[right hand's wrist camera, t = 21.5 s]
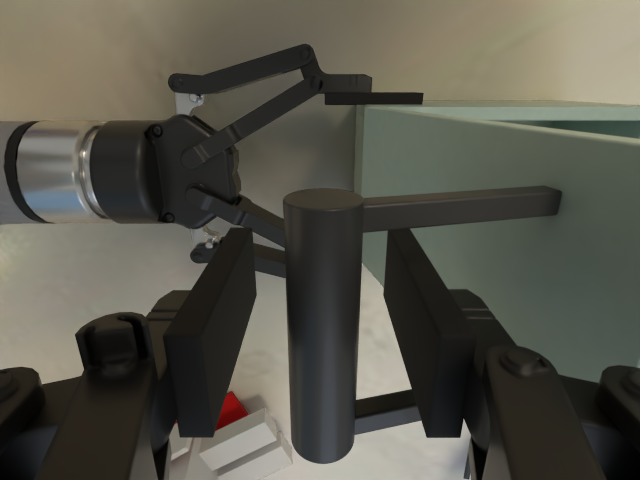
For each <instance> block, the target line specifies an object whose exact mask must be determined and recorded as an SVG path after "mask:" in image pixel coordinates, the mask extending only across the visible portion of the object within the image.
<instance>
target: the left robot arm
mask: <svg viewBox="0 0 640 480" xmlns="http://www.w3.org/2000/svg"><path fill="white" fill-rule="evenodd" d="M297 69H301V72H302V74H303V77H304V80H303V81H301V82H299V83H298V84H296V85H294V86H293V87H291V88H289V89H288V90H286V91H285V92H283V93H281V94H280V95H278V96H276V97H275V98H273V99H272V100H270V101H268V102H267V103H265V104H263V105H262V106H260V107H258V108H257V109H255V110H254V111H252V112H250V113H249V114H247V115H245V116H244V117H242V118H241V119H239V120H237V121H236V122H234V123H232V124H231V125H229V126H227V127H225V128H224V129H222V130H220V131H219V132H217V131H216V130H215V129H213V128H212V127H210V126H209V125H207V124H206V123H205V122H203V121H202V120H200V119H199V118H197V117H196V116H194V111H195V109H196V108H197V107H198V106H202V105H205V104H206V103H207V101H208V94H215V93H221V92H225V91H228V90H231V89H235V88H238V87H241V86H244V85H248V84H251V83H254V82H258V81H261V80H264V79H267V78H271V77H274V76H277V75H280V74H284V73H287V72H290V71H293V70H297ZM168 84H169V87H170V89H171V90H172V91H174V92H175V106H176V115H174V116H173V117H171V118H170V119H168V120H164V121H109V122H107V123H102V122H100V121H32V122H2V121H0V225H2V224H26V223H84V224H108V223H111V222H113V221H114V222H117V223H121V224H163V223H176V224H180V225H182V226H184V227H186V228H189V229H190V231H191V236H192V241H193V246H194V249H193V250H192V252H191V254H190V257H191V260H192V261H193V262H195V263H209V261H210V260H211V258H212V257H213V255H214V253H215V252H216V250H217V249H218V247H219V246H220V244H221V242H222V241H223V239H224V238H225V237H221V235H220V234H219V233H218V232H215V231H211V230H209V229H208V228H207V226H206V224H208V223H209V222H210V221H212V220H213V219H214V218H216V217H217V216H218V217H220V218H222V219H224V220H226V221H228V222H230V223H232V224H234V225H241V226H243V227H245V228H252V231H253V232H255V233H257V234H259V235H261V236H263V237H265V238H267V239H269V240H270V241H272V242H274V243H276V244H278V245H280V246H282V247H284V248H285V238H284V219H282V218H280V217H278V216H276V215H274V214H273V213H271V212H269V211H267V210H265V209H263V208H261V207H259V206H257V205H255V204H254V203H252V202H251V200H250V199H248V198H246V197H244V196H242V195H241V194H239V192H240V191H241V181H240V178H239V175H238V172H237V168H238V163H239V153H238V150H236V148H235V146H234V144H235V143H237V142H238V141H240V140H242V139H243V138H245V137H246V136H248V135H250V134H251V133H253V132H255V131H256V130H258V129H260V128H261V127H263V126H265V125H266V124H268V123H270V122H271V121H273V120H275V119H276V118H278V117H280V116H281V115H283V114H285V113H286V112H288V111H290V110H291V109H293V108H295V107H296V106H298V105H300V104H301V103H303V102H305V101H306V100H308V99H310V98H311V97H313V96H315V95H316V94H325V105H422V103H423V93H415V92H371V89H372V77H369V76H367V75H365V74H326V73H324V72H323V71H322V70H321V69H320V68H319V65H318V62H317V59H316V56H315V53H314V50H313V48H312V47H311V46H310V45H307V44H302V45H299V46H295V47H292V48H289V49H286V50H283V51H279V52H276V53H273V54H270V55H267V56H263V57H260V58H257V59H254V60H251V61H247V62H244V63H241V64H238V65H235V66H231V67H228V68H225V69H222V70H219V71H215V72H212V73H209V74H206V75H203V76H202V75H190V74H177V73H176V74H172V75H171V76H170V77H169V80H168ZM253 249H254V264H255V271H259V272H263V273H267V274H271V275H275V276H279V277H283V278H286V268H285V251H282V250H278V249H274V248H270V247H266V246H263V245H259V244H255V243H253Z"/></svg>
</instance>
